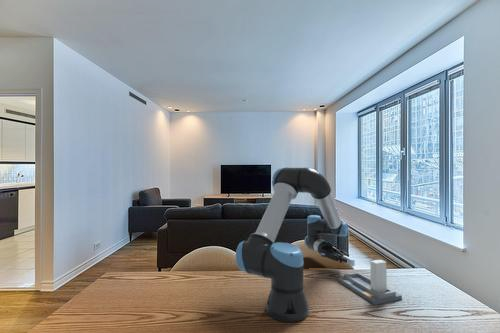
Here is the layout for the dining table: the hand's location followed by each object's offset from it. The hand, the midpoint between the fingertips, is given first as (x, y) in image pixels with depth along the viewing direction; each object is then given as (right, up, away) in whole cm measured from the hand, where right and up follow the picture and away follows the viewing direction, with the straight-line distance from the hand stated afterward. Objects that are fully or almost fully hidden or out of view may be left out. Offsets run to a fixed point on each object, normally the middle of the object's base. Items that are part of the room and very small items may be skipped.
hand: (353, 263), depth 123 cm
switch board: (+3, -8, -9) cm, 12 cm away
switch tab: (+5, -6, -14) cm, 16 cm away
